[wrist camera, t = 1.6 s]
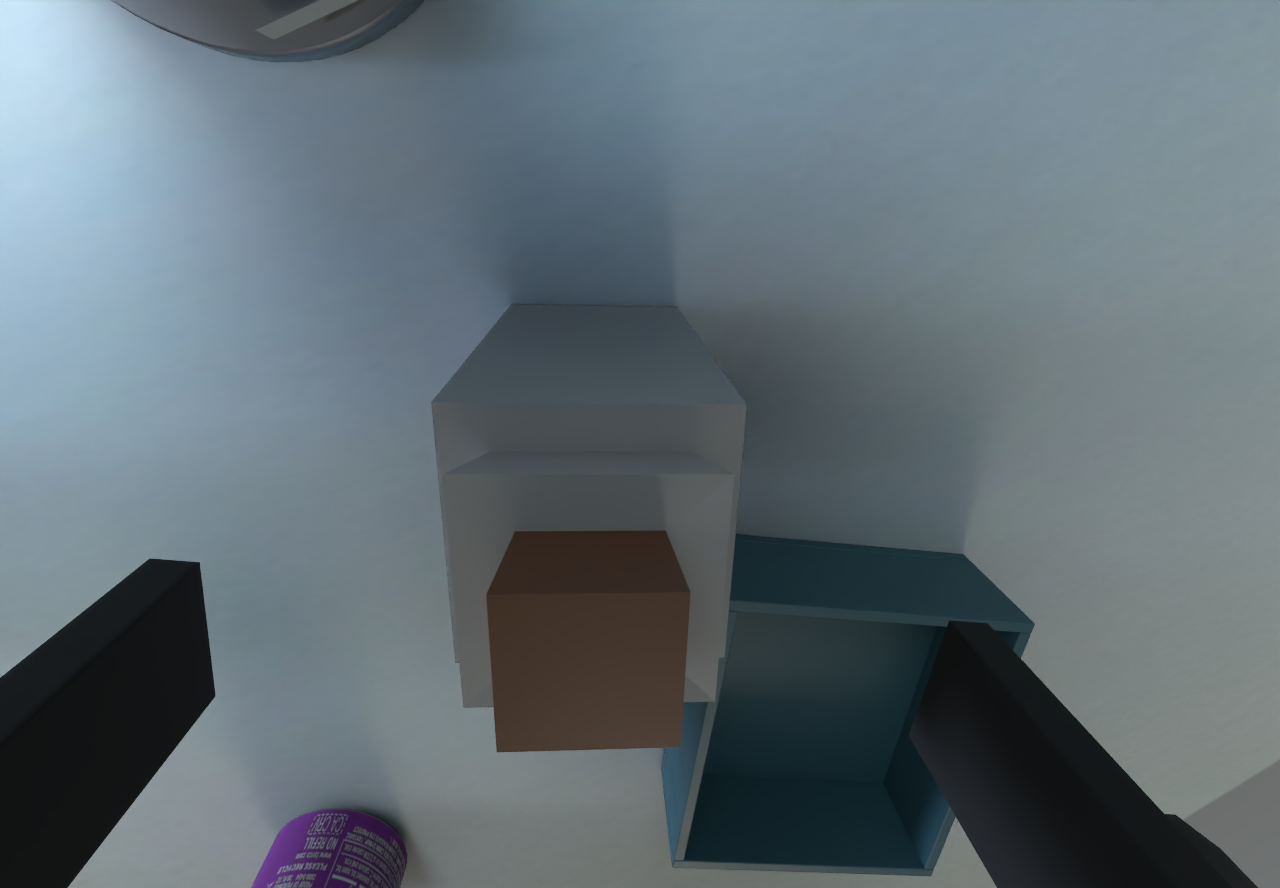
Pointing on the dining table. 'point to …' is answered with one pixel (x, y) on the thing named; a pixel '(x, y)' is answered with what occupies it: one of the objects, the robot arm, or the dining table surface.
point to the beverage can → (334, 853)
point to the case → (824, 711)
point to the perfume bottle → (589, 523)
